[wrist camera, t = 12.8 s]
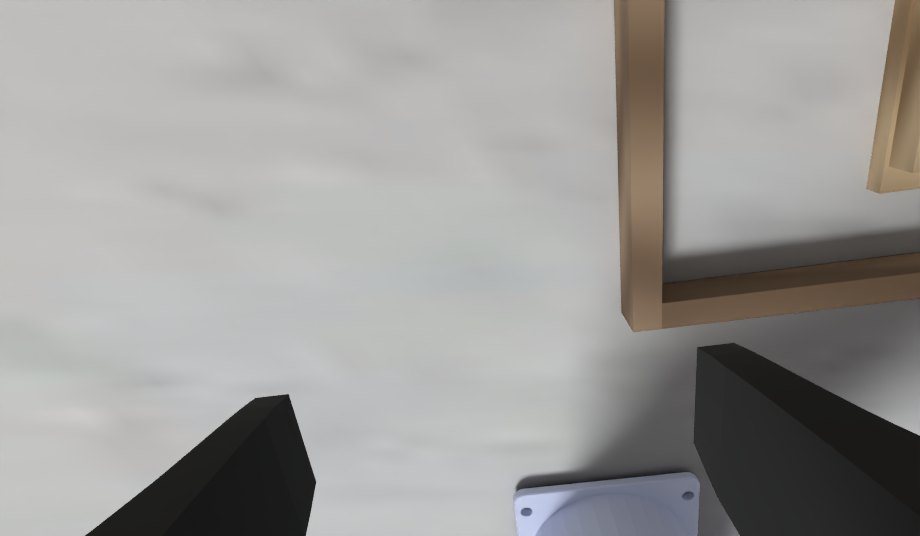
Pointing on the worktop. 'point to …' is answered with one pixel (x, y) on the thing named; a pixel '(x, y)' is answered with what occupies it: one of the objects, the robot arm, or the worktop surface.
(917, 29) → the offcut stack
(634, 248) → the brown flat square frame
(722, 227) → the worktop surface
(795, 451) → the robot arm
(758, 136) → the worktop surface
